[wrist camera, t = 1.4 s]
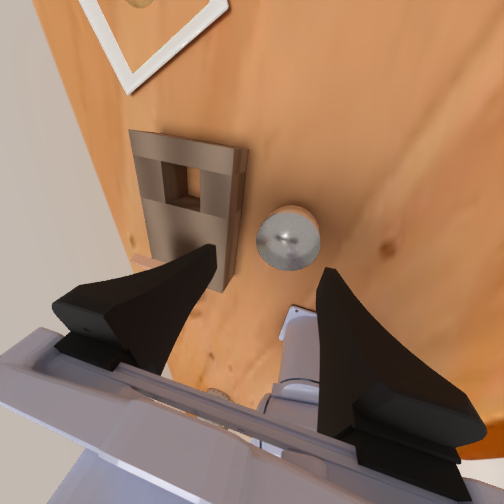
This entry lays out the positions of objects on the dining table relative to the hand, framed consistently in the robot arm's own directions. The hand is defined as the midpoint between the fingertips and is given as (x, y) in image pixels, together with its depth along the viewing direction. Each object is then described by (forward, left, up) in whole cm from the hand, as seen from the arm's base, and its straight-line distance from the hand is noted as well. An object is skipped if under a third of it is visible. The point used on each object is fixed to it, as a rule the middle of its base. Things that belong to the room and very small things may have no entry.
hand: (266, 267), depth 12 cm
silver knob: (-1, 0, -10) cm, 10 cm away
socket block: (+10, +2, -10) cm, 14 cm away
